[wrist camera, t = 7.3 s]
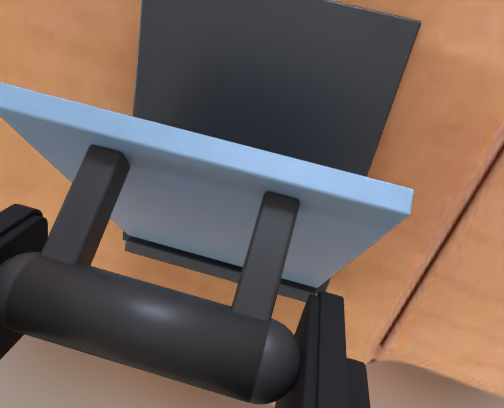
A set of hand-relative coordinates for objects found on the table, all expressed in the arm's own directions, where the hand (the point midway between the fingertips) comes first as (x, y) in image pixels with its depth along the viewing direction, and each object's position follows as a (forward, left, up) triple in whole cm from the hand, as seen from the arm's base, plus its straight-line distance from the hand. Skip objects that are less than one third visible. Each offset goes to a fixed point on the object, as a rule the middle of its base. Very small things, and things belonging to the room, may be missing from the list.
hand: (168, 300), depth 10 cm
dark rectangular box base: (0, -1, -9) cm, 10 cm away
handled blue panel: (0, 0, -4) cm, 4 cm away
